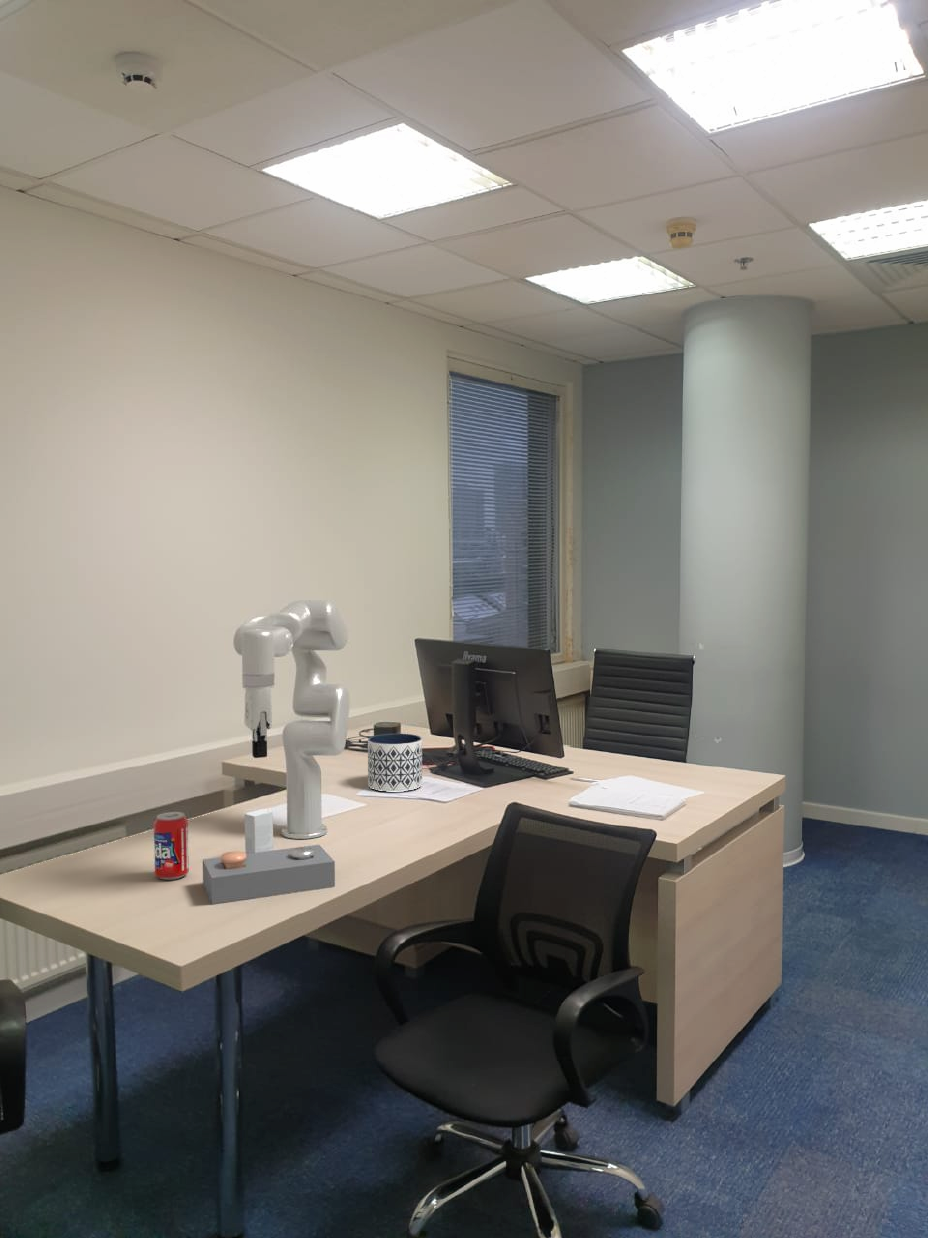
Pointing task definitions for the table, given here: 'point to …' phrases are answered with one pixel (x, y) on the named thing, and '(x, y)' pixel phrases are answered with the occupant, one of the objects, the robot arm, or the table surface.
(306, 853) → the grey plunger
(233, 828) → the table surface
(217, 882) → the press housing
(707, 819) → the table surface
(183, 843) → the soda can
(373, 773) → the planter
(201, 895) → the table surface
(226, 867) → the peach dome knob
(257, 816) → the skincare box
